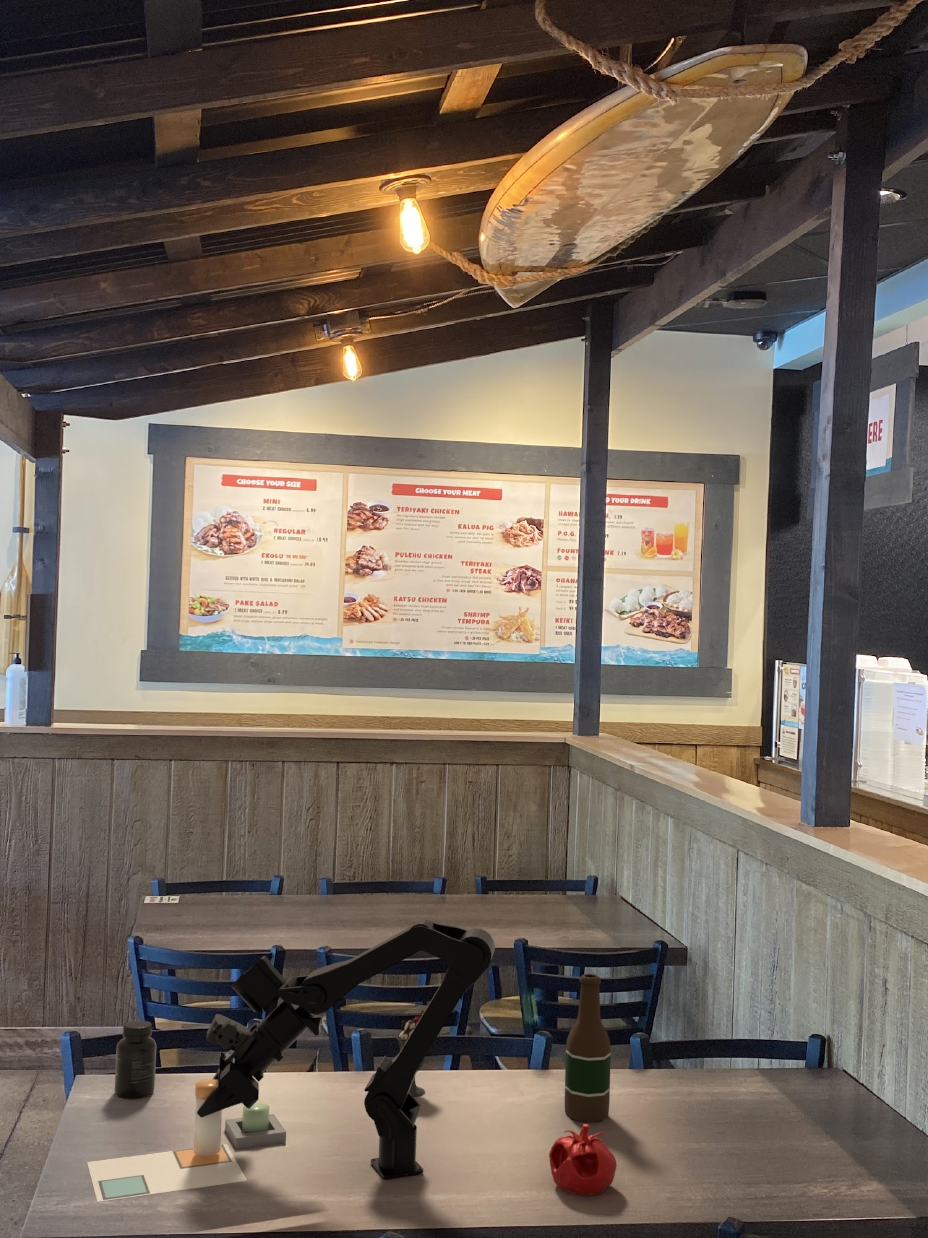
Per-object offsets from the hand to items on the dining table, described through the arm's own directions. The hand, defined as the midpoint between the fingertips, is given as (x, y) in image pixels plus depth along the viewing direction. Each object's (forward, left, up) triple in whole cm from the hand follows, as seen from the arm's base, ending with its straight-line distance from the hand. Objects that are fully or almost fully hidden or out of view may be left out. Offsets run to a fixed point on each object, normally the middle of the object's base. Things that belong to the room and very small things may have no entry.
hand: (199, 1109), depth 178 cm
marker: (0, -1, -6) cm, 6 cm away
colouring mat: (-4, +5, -8) cm, 10 cm away
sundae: (+18, -42, -8) cm, 47 cm away
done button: (+5, -10, -6) cm, 13 cm away
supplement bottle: (+33, +5, -8) cm, 34 cm away
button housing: (+5, -10, -8) cm, 14 cm away
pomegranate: (-27, -52, -8) cm, 59 cm away
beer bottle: (-2, -67, -8) cm, 68 cm away
